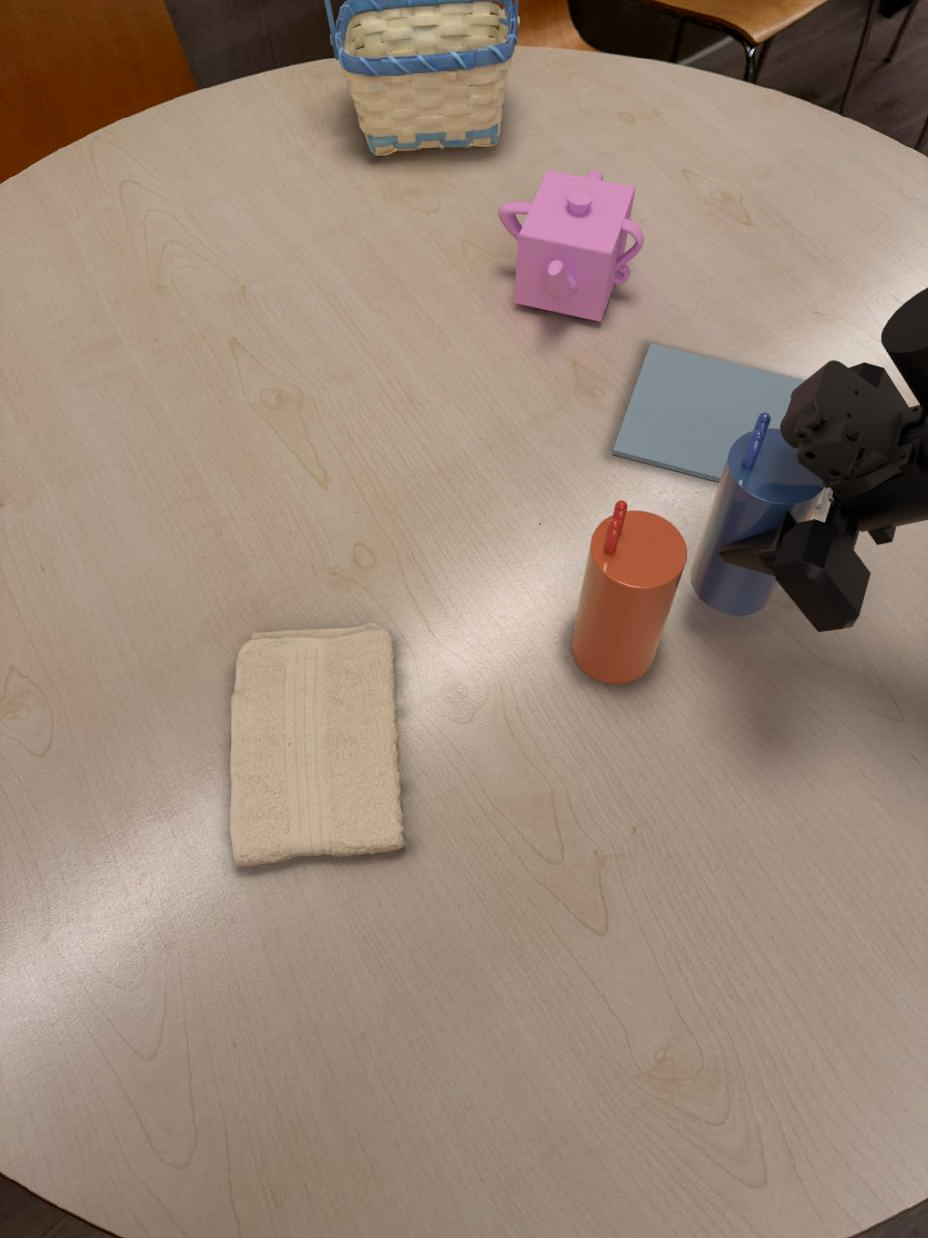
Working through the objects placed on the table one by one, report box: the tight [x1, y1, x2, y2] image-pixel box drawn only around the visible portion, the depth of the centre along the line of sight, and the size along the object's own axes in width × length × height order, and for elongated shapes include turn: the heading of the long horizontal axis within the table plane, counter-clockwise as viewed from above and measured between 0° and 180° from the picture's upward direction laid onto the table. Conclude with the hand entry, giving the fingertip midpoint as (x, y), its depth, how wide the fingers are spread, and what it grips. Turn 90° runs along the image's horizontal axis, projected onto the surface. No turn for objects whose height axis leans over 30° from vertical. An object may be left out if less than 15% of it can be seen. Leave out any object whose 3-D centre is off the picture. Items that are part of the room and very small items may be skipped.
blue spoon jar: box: [689, 412, 827, 617], centre depth 70 cm, size 6×6×16 cm
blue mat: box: [611, 343, 825, 509], centre depth 91 cm, size 18×14×1 cm
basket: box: [323, 0, 521, 157], centre depth 105 cm, size 21×16×24 cm
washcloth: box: [229, 621, 407, 867], centre depth 73 cm, size 12×18×3 cm, turn 6°
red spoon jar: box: [570, 499, 688, 685], centre depth 72 cm, size 6×6×16 cm
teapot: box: [497, 169, 645, 323], centre depth 96 cm, size 18×14×10 cm
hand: (735, 519), depth 71 cm, fingers closed on blue spoon jar, 6 cm apart
